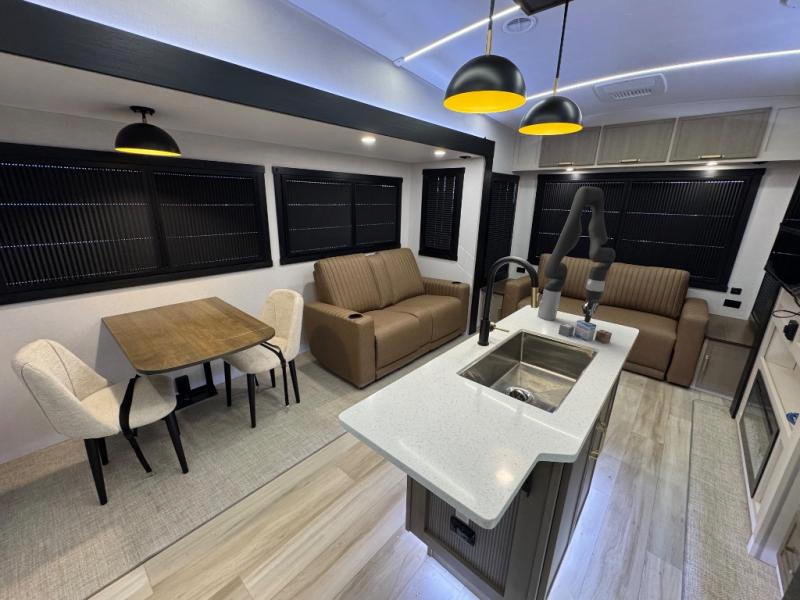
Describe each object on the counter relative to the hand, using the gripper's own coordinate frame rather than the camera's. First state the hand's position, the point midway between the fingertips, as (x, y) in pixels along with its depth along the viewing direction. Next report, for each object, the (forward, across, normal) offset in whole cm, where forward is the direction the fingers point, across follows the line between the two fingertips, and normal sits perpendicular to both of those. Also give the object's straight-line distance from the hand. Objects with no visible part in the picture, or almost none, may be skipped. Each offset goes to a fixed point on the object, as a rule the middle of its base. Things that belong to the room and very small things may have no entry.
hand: (586, 321), depth 161 cm
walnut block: (+9, -5, +7) cm, 12 cm away
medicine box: (+9, 0, 0) cm, 9 cm away
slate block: (+9, +4, -7) cm, 12 cm away
